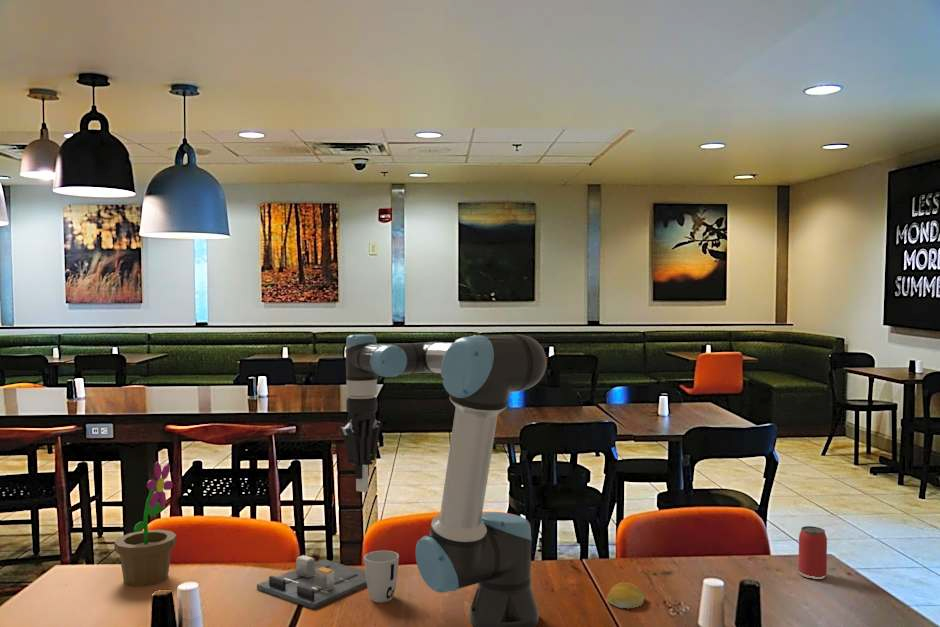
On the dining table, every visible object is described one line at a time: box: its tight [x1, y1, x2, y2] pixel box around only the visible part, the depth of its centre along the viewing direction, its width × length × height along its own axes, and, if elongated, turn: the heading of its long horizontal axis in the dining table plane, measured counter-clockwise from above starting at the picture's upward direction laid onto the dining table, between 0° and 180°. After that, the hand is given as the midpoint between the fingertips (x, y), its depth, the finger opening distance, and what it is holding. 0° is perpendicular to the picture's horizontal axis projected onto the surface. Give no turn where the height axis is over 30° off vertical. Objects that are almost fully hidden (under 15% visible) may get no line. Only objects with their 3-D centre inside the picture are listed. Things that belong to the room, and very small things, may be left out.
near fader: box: [315, 567, 334, 591], centre depth 182 cm, size 4×2×4 cm, turn 54°
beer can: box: [798, 525, 828, 577], centre depth 195 cm, size 7×7×12 cm
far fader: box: [295, 554, 315, 578], centre depth 190 cm, size 4×2×4 cm, turn 54°
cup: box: [363, 550, 400, 603], centre depth 179 cm, size 8×8×10 cm
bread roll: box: [606, 581, 645, 610], centre depth 178 cm, size 8×9×4 cm
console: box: [256, 558, 367, 610], centre depth 188 cm, size 20×22×3 cm
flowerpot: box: [113, 461, 177, 587], centre depth 191 cm, size 14×14×30 cm
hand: (362, 490), depth 190 cm, fingers closed
